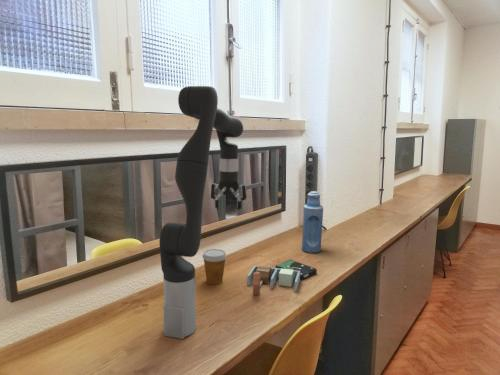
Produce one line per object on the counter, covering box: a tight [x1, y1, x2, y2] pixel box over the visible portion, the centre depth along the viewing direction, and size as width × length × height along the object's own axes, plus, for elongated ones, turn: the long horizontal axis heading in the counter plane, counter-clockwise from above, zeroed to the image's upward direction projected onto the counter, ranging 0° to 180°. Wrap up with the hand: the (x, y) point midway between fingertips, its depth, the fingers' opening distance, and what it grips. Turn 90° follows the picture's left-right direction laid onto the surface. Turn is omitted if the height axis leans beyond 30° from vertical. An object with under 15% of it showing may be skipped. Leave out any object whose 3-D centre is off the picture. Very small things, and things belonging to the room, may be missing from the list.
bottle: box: [301, 190, 324, 254], centre depth 177 cm, size 10×10×30 cm
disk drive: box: [274, 259, 318, 281], centre depth 153 cm, size 10×3×15 cm
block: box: [278, 268, 294, 287], centre depth 141 cm, size 5×5×5 cm
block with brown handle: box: [252, 265, 272, 296], centre depth 138 cm, size 16×5×8 cm, turn 165°
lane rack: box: [246, 265, 301, 293], centre depth 141 cm, size 11×19×4 cm, turn 75°
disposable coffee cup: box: [202, 248, 228, 285], centre depth 141 cm, size 10×10×12 cm
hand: (228, 209), depth 145 cm, fingers open, 8 cm apart
